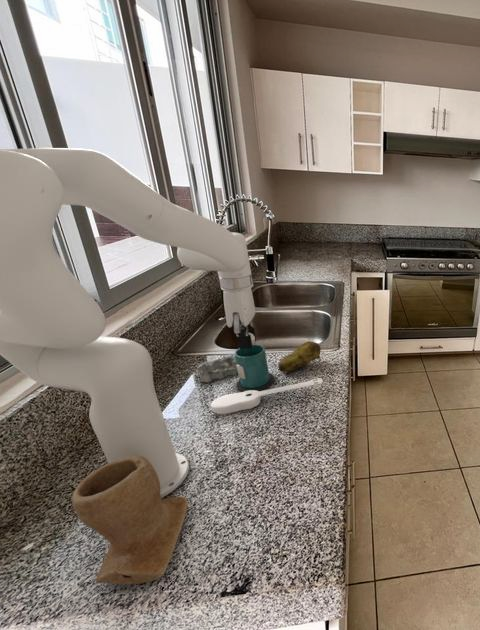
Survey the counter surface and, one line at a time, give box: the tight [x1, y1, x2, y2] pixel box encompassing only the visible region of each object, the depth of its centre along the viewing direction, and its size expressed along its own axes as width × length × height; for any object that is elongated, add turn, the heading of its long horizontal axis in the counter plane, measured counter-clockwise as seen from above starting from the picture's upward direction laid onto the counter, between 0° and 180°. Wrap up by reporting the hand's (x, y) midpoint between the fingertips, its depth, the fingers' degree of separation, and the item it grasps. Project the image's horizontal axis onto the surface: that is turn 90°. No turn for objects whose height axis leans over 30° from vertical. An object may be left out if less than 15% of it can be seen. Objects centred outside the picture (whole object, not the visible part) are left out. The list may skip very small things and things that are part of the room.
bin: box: [234, 343, 270, 388], centre depth 99 cm, size 8×8×10 cm
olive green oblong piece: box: [278, 341, 322, 373], centre depth 108 cm, size 8×13×8 cm, turn 109°
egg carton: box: [196, 354, 238, 383], centre depth 104 cm, size 11×8×4 cm
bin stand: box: [236, 372, 275, 393], centre depth 101 cm, size 10×10×1 cm
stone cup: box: [71, 456, 189, 586], centre depth 54 cm, size 15×12×15 cm
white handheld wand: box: [210, 377, 324, 415], centre depth 93 cm, size 28×6×3 cm, turn 114°
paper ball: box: [249, 333, 256, 345], centre depth 95 cm, size 4×4×4 cm
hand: (248, 344), depth 96 cm, fingers closed on paper ball, 3 cm apart
